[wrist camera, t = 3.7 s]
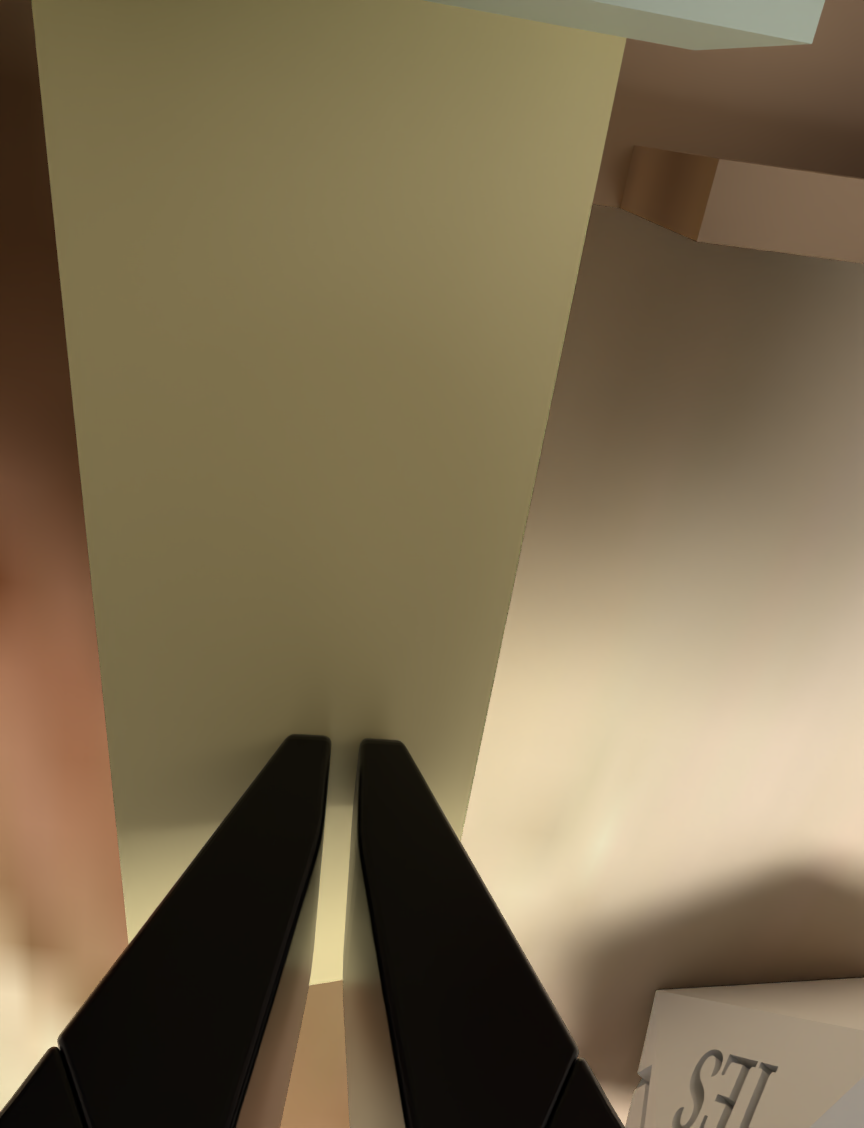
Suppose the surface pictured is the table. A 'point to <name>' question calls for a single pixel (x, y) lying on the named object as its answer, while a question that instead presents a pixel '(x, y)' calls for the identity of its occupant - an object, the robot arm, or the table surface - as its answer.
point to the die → (754, 1057)
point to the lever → (319, 368)
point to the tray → (745, 141)
